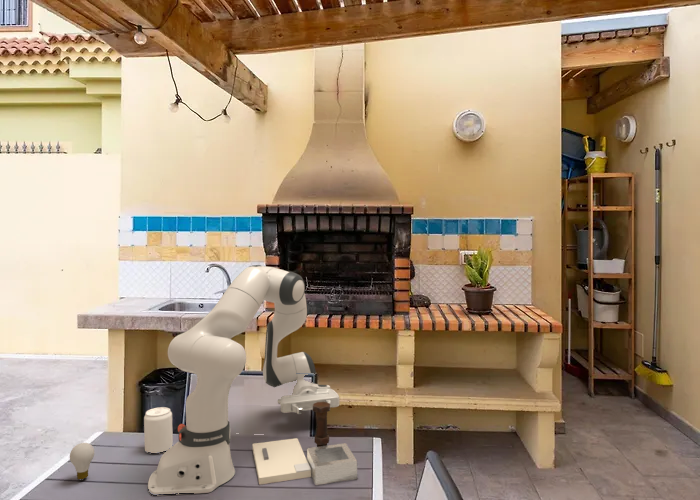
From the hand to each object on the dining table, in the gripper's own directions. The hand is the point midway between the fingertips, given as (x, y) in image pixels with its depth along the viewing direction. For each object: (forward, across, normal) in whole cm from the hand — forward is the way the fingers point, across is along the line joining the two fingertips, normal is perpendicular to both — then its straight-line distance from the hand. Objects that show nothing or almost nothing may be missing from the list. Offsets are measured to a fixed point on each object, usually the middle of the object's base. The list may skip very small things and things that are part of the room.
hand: (314, 409), depth 157 cm
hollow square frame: (+24, 0, +9) cm, 26 cm away
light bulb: (+8, -66, +9) cm, 67 cm away
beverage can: (-6, -48, +9) cm, 49 cm away
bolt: (+12, 0, +9) cm, 15 cm away
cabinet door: (+14, -13, +9) cm, 21 cm away
